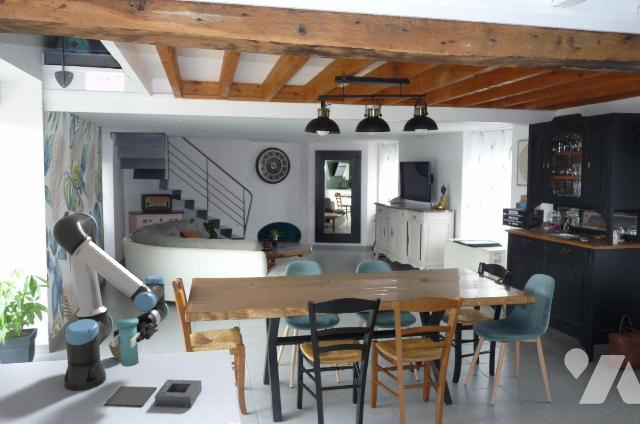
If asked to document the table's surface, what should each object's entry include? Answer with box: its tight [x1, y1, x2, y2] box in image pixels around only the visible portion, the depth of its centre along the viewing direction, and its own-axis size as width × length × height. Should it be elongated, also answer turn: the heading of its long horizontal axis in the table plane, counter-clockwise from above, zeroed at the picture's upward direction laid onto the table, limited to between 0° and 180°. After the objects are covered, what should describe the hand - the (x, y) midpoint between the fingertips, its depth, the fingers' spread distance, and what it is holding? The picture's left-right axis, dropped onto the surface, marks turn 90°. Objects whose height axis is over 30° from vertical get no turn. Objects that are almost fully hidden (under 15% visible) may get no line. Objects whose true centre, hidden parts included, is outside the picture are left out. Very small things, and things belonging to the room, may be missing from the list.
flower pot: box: [108, 339, 121, 361], centre depth 237 cm, size 10×10×7 cm
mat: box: [103, 385, 158, 408], centre depth 202 cm, size 14×14×1 cm
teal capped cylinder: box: [115, 316, 140, 368], centre depth 199 cm, size 8×8×16 cm
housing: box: [154, 379, 203, 409], centre depth 200 cm, size 13×13×4 cm
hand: (122, 343), depth 194 cm, fingers closed on teal capped cylinder, 6 cm apart
